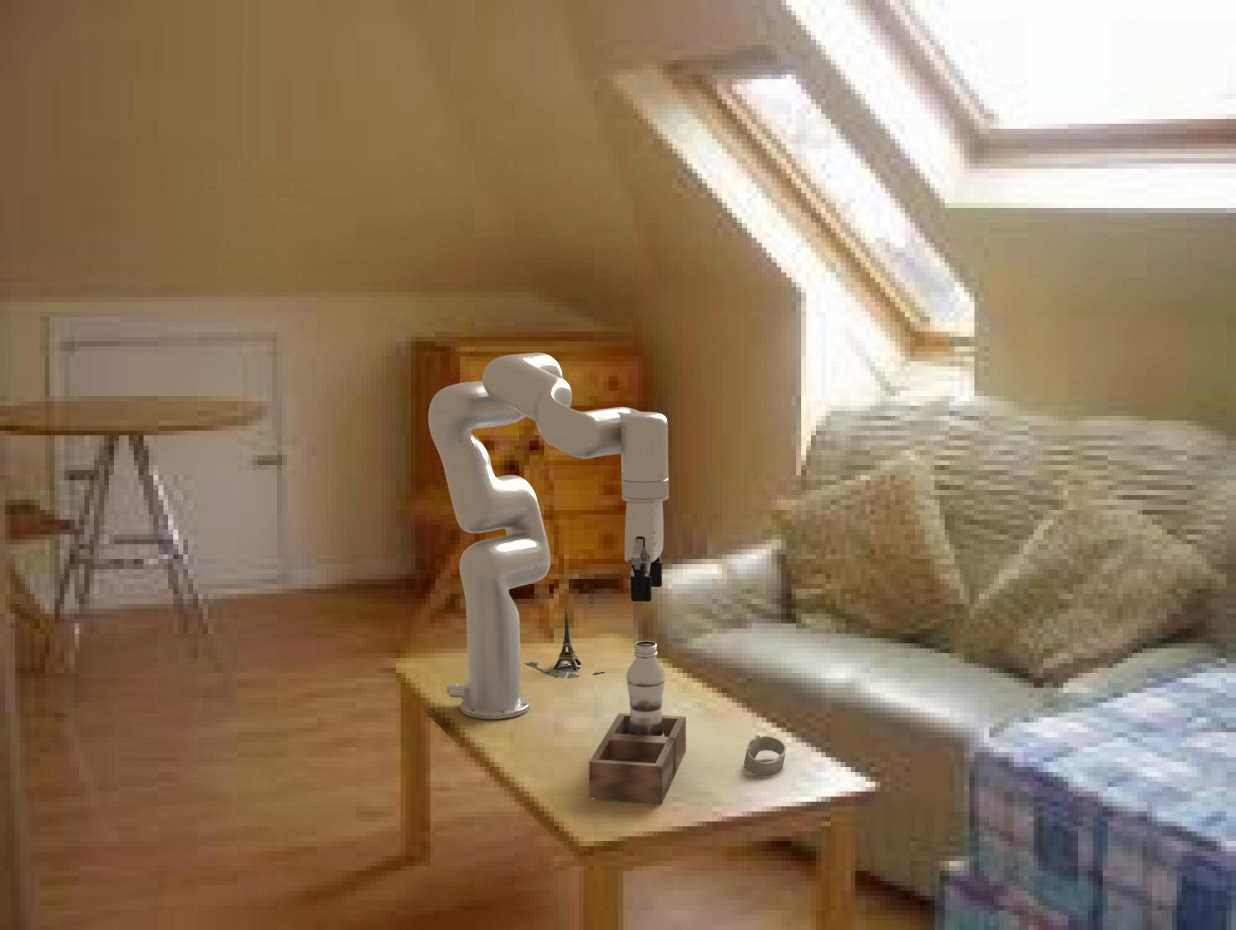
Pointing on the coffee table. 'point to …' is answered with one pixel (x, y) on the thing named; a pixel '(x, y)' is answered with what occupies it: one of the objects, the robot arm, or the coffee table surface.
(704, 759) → the coffee table surface
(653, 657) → the plastic bottle
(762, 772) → the wristwatch
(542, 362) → the robot arm
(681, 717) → the bottle rack
